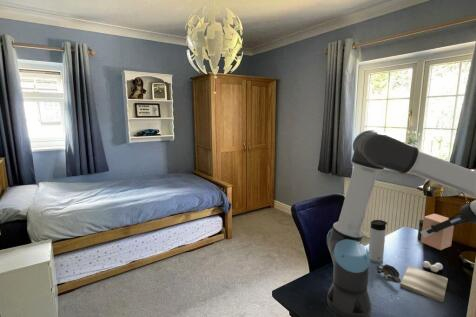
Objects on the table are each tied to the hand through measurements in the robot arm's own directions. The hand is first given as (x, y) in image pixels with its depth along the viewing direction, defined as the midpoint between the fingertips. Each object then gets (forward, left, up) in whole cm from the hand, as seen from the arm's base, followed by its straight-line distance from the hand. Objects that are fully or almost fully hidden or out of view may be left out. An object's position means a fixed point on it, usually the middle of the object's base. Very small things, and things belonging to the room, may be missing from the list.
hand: (428, 232), depth 118 cm
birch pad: (-16, -2, -16) cm, 23 cm away
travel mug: (-10, +18, -16) cm, 26 cm away
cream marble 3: (0, -5, -16) cm, 17 cm away
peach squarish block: (-1, -3, -4) cm, 5 cm away
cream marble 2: (-3, -4, -16) cm, 17 cm away
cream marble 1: (-2, -1, -16) cm, 16 cm away
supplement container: (+27, +4, -16) cm, 32 cm away
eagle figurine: (-21, +10, -16) cm, 29 cm away
